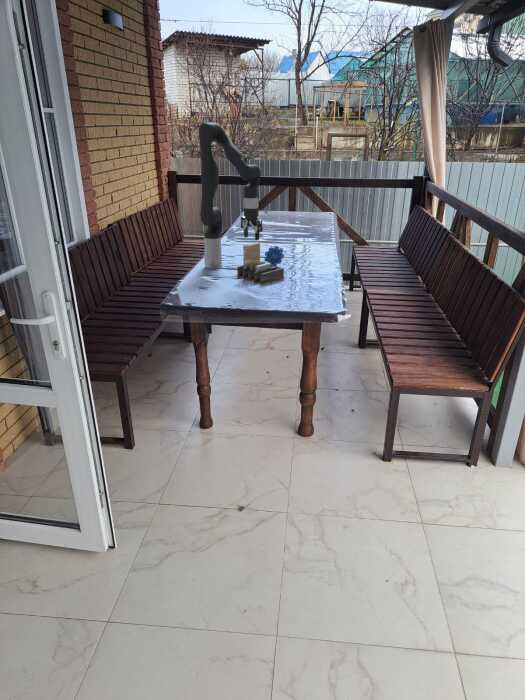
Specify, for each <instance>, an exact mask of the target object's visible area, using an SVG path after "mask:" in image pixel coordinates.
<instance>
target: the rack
mask: <svg viewBox="0 0 525 700" xmlns="http://www.w3.org/2000/svg"><path fill="white" fill-rule="evenodd" d="M236 268H237V269H236V273H237V274H236V275H234V277H236V278H240V279H242V280H245V281H249V282H252V283H254V284H258V285H260V286H265V285H268V284H271V283H275V282H278V281H282V280H285V279H287V277H286V276H285V268H284V267H281V268H279V266H278V265H277V266H273V265H271V268H268V269H264V270H261V271H257V272H256V269H252V270H250V267H247V268H244V264H242V265H240V266H237V267H236Z"/></svg>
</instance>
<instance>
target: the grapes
mask: <svg viewBox="0 0 525 700" xmlns="http://www.w3.org/2000/svg"><path fill="white" fill-rule="evenodd" d="M283 252H284V250H283V248H279V246H278V245H275V246H273V247H272V246H270V247H269V248H268V250H266V252H264V256H265V257H264V260H263V261H264V262H265V263H271V265H272V266H273V267H276V266H278V265H281V264H282V261H283V259H284V258H285V254H284V253H283Z"/></svg>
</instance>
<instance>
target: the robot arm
mask: <svg viewBox="0 0 525 700" xmlns="http://www.w3.org/2000/svg"><path fill="white" fill-rule="evenodd" d="M198 139H199V142H198V143H199V149H200V164H201V165H200V173H201V175H200V181H201V197H200V198H201V201H200V212H199V213H200V214H199V215H200V221H201V223H202V225H204V226H205V227H207V228H206V230H205V231H204V233H203V234H204V235H203V236H204V237H203V238H204V251H203V254H204V257H203V258H204V267H205V268H206V269H207V270H219V269H221V268H222V267H223V260H222V259H223V256H222V253H223V252H222V232H223V215H222V211H221V209H220V208H219V207H217V206H214V199H215V195H216V192H217V189H218V188H219V187H218V186H219V183H220V182H219V180H220V179H219V177H220V176H219V175H220V174H219V173H220V170H219V167H218V164H217V162H216V160H215V158H214V156H213V149H212V143H217V144H218V145H219V146H221V147H222V149H223V151H224V154H225V158H226V159H227V160H228V161H229V163H231V164H232V165H233V167H235V169H236V172H237V173H238V175H239V176H240V178H241V179H242V180H244V181H248V182H247V184H246V185H244V187H243V216H241V217H240V229H242V231H243V238H249V228H252V230H253V231H254V232H255V233H254V241H259V240H260V234H261V233H262V232H263V220H262V219H258V216H259V214H260V213H259V191H258V189H259V186H260V185H259V184H260V181H261V175H262V174H261V173H262V172H261V168H260V166H259V165H258V164H247V163H248V159H247V157H246V156H245V155H244V154H243V153H242V152H241V151H240V150H239V149H238V148H237V147H236V145H235V144H234V143H233V142H232V141H231V139H230V138H229V136H228V134H227V133H226V131H225V130H224V128H222V126H221V125H220V124H219V123H218V122H213V121H212V122H202V123H201V124H200V126H199V128H198Z"/></svg>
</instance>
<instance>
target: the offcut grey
mask: <svg viewBox="0 0 525 700" xmlns="http://www.w3.org/2000/svg"><path fill="white" fill-rule="evenodd" d="M268 268H271V263H267V262H265V264H261V265H257V266H256V272H257V271H261V270H264V269H268Z"/></svg>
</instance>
